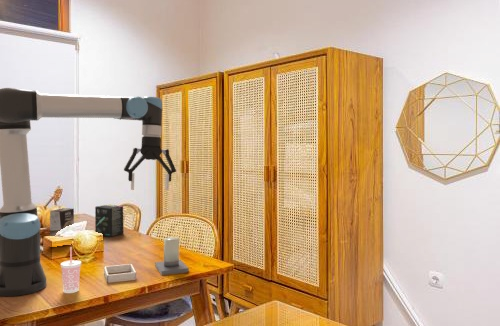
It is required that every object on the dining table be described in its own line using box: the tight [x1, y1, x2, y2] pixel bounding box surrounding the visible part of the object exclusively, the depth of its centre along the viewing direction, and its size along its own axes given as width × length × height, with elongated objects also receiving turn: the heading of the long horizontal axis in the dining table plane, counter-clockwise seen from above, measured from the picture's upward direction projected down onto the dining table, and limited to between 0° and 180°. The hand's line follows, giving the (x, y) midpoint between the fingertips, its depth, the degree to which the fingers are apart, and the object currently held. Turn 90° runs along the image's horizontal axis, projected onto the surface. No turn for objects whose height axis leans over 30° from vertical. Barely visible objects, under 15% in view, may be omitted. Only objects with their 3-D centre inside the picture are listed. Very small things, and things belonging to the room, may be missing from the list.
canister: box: [163, 236, 180, 267], centre depth 158 cm, size 6×6×10 cm
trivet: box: [154, 259, 190, 276], centre depth 159 cm, size 10×12×2 cm
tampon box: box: [94, 204, 125, 238], centre depth 215 cm, size 11×9×15 cm
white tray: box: [103, 263, 137, 284], centre depth 149 cm, size 10×11×2 cm
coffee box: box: [49, 207, 75, 237], centre depth 193 cm, size 9×6×16 cm
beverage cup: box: [60, 246, 82, 294], centre depth 134 cm, size 6×6×14 cm
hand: (149, 189), depth 167 cm, fingers open, 13 cm apart
